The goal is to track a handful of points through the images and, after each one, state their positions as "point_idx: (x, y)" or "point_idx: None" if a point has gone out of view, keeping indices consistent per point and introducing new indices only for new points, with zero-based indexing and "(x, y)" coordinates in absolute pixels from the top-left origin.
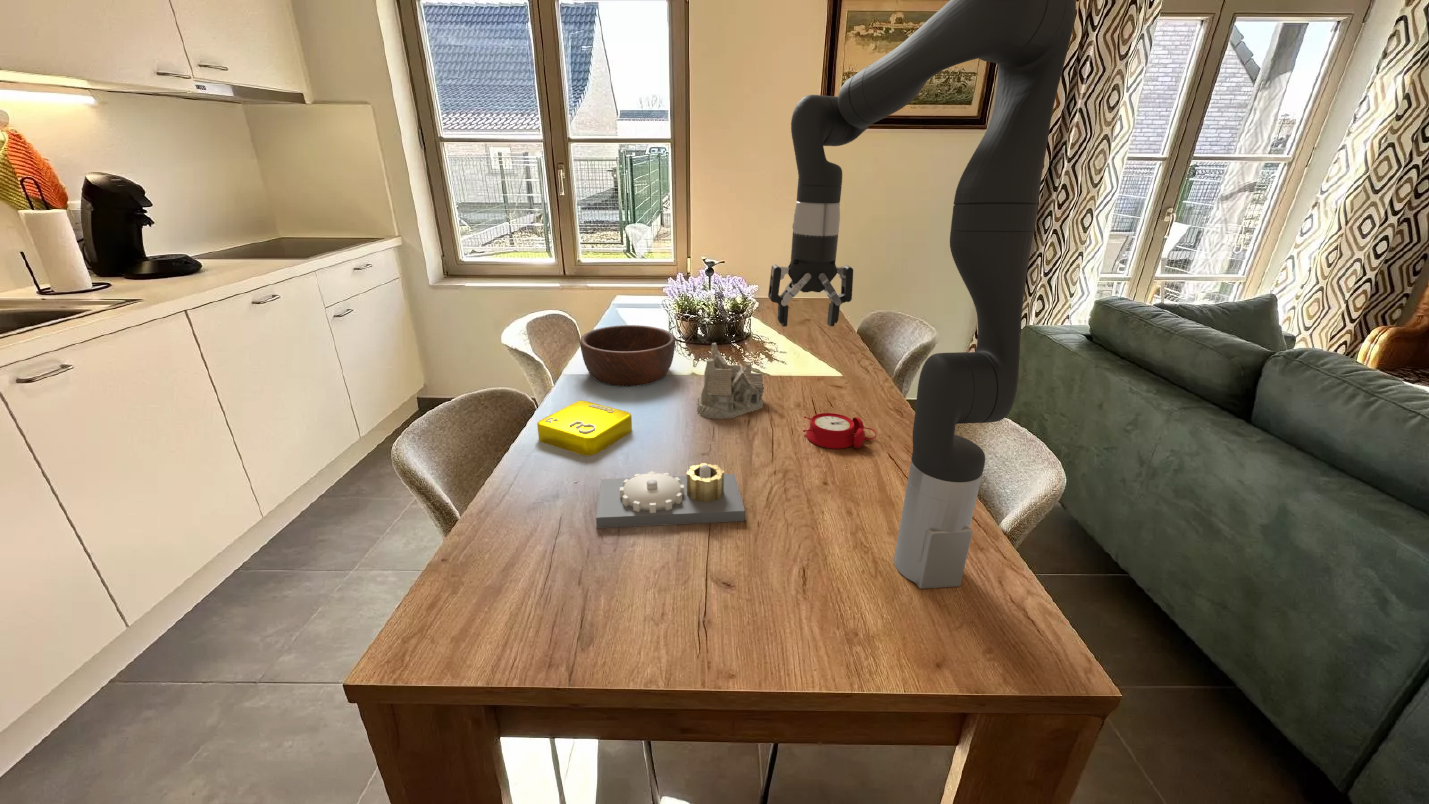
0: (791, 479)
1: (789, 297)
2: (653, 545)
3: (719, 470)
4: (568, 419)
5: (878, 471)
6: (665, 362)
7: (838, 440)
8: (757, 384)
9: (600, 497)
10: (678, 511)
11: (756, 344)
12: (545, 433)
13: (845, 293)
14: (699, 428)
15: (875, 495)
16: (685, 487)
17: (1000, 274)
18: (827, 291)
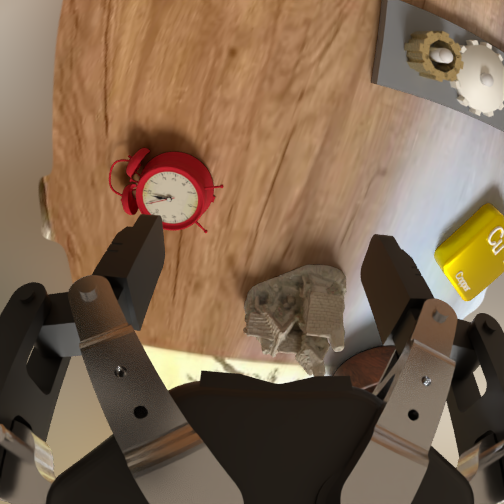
0: (282, 71)
1: (429, 337)
2: (477, 9)
3: (424, 51)
4: (497, 260)
5: (137, 81)
6: (351, 373)
7: (171, 159)
8: (257, 318)
9: None
10: (460, 31)
11: None
12: None
13: (29, 327)
14: (360, 243)
15: (169, 17)
16: None
17: None
18: (146, 357)
